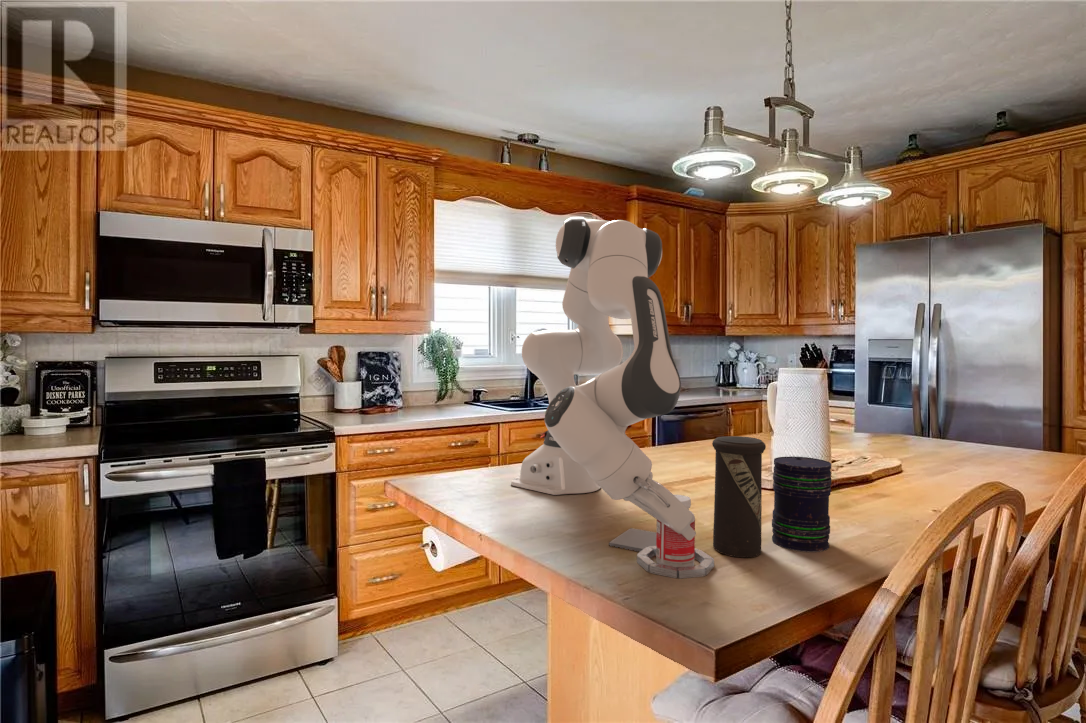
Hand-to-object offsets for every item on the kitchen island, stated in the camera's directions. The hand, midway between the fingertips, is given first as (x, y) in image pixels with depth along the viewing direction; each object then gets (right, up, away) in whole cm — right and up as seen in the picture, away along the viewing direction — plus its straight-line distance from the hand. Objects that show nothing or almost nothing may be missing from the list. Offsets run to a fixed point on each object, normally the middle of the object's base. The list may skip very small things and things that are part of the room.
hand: (679, 528), depth 102 cm
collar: (-1, -6, 0) cm, 6 cm away
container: (+12, -6, +7) cm, 15 cm away
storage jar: (+25, -6, +11) cm, 28 cm away
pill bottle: (-1, -6, 0) cm, 6 cm away
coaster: (-4, -5, +11) cm, 12 cm away
